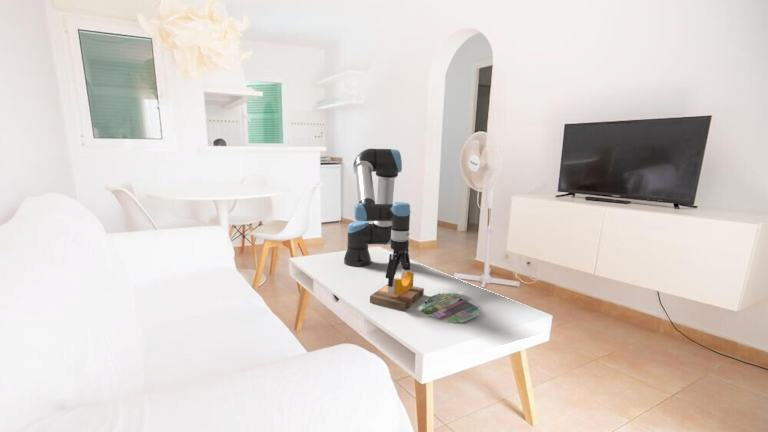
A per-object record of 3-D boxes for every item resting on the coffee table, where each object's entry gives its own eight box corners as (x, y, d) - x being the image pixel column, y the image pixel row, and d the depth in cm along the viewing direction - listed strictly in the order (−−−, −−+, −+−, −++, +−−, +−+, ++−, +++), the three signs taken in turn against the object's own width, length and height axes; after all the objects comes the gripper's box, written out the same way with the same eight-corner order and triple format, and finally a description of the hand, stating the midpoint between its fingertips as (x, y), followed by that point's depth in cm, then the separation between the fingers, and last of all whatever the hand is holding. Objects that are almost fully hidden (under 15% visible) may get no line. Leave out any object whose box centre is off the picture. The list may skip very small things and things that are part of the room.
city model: (407, 316, 148) (406, 302, 147) (436, 293, 166) (436, 280, 165) (465, 337, 134) (465, 322, 132) (490, 309, 152) (490, 296, 150)
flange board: (391, 287, 172) (391, 281, 172) (423, 294, 165) (423, 288, 165) (369, 302, 155) (370, 295, 154) (404, 311, 148) (405, 303, 147)
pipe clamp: (404, 284, 165) (405, 271, 163) (413, 287, 162) (413, 273, 161) (389, 293, 155) (390, 278, 154) (398, 295, 152) (399, 280, 151)
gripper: (395, 247, 143) (393, 299, 147) (419, 235, 165) (417, 281, 168) (377, 244, 147) (376, 295, 150) (403, 233, 168) (402, 278, 172)
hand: (397, 288), depth 159 cm, fingers closed on pipe clamp, 12 cm apart
